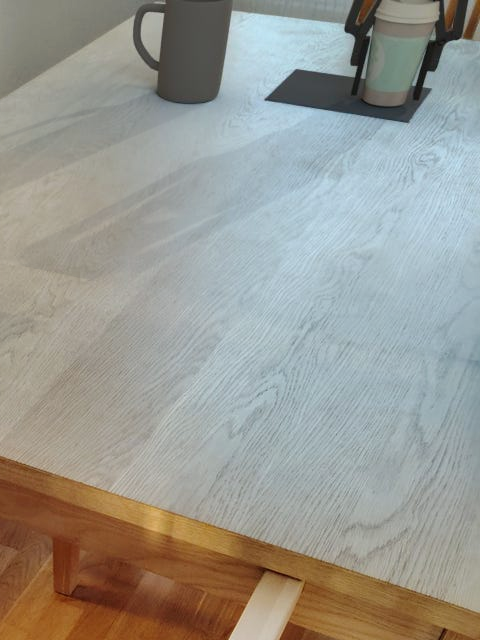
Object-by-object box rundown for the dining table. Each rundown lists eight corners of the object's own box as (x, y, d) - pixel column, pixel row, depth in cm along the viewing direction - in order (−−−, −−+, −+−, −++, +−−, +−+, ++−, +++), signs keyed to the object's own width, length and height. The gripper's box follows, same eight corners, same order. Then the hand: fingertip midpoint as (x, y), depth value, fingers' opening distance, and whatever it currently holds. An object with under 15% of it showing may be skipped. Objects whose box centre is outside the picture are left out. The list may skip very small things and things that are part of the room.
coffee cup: (359, 86, 130) (385, -14, 121) (420, 95, 127) (451, -7, 118) (345, 104, 125) (370, 1, 116) (408, 113, 122) (439, 8, 113)
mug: (227, 87, 131) (242, -12, 122) (208, 107, 126) (223, 5, 117) (139, 76, 135) (147, -21, 126) (117, 95, 130) (125, -5, 121)
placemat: (431, 89, 129) (432, 88, 129) (408, 122, 121) (408, 121, 121) (295, 69, 136) (296, 68, 136) (264, 99, 127) (264, 98, 127)
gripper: (530, -119, 109) (461, 92, 126) (355, -125, 113) (311, 80, 130) (535, -108, 104) (463, 110, 121) (353, -114, 108) (307, 97, 125)
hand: (384, 94), depth 125 cm, fingers closed on coffee cup, 8 cm apart
